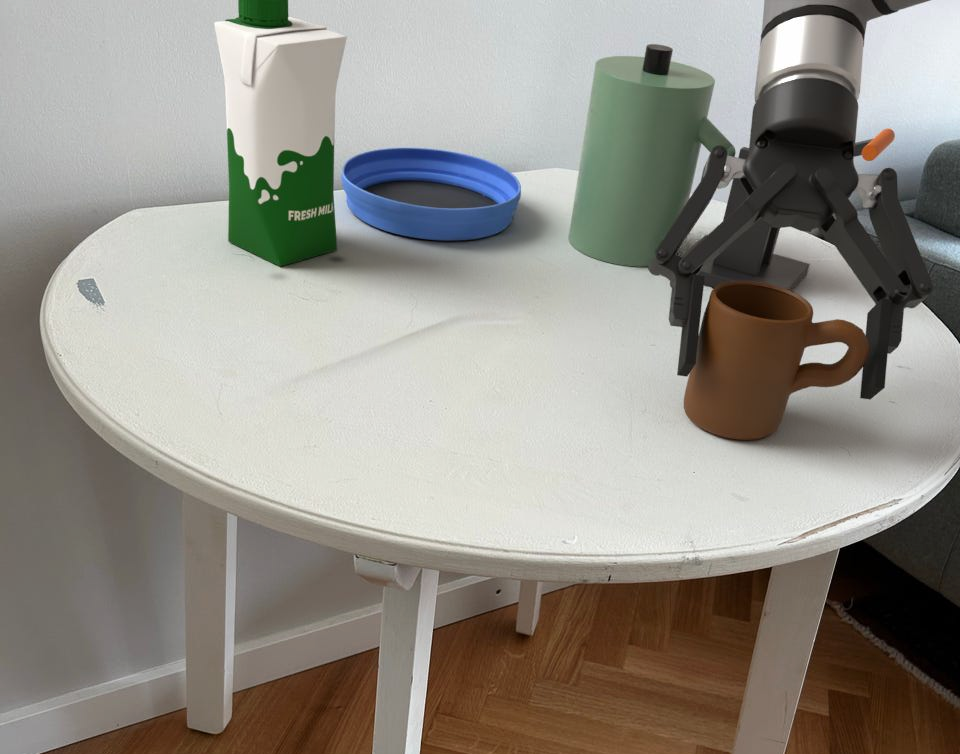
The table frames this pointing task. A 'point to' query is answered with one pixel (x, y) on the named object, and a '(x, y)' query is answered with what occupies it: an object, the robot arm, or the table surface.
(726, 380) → the mug
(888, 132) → the switch
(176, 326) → the table surface
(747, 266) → the dark grey stand
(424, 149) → the bowl
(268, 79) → the milk carton
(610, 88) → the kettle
